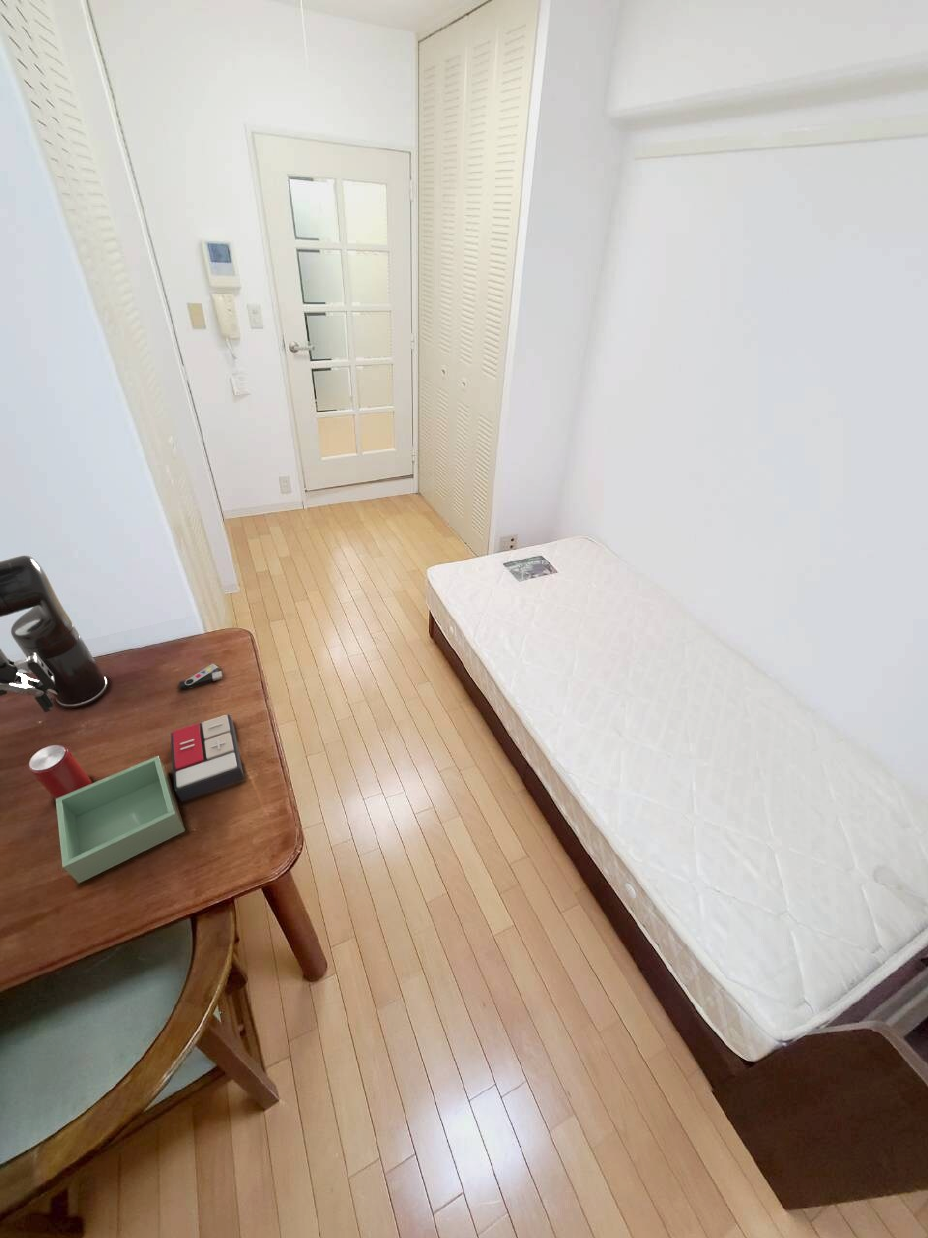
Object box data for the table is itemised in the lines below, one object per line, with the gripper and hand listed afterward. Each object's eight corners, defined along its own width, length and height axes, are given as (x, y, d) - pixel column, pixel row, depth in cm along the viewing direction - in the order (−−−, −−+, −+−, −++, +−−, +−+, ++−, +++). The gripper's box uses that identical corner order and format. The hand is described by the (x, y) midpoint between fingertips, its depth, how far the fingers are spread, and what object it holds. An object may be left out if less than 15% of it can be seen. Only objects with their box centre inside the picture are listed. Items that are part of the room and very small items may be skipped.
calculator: (229, 711, 103) (239, 766, 92) (234, 725, 106) (244, 780, 95) (169, 729, 99) (172, 789, 88) (176, 743, 102) (180, 803, 91)
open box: (71, 817, 88) (55, 799, 84) (169, 774, 96) (158, 755, 92) (80, 885, 80) (62, 867, 76) (186, 832, 87) (174, 814, 83)
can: (55, 787, 92) (26, 753, 86) (91, 773, 95) (65, 738, 88) (58, 811, 89) (27, 777, 82) (94, 795, 92) (68, 761, 85)
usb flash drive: (181, 691, 111) (179, 688, 111) (179, 675, 115) (178, 672, 114) (222, 679, 114) (221, 676, 114) (220, 664, 118) (219, 661, 117)
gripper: (16, 611, 74) (66, 686, 85) (-114, 646, 68) (-43, 723, 78) (18, 641, 70) (71, 716, 80) (-122, 681, 63) (-45, 758, 74)
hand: (15, 719), depth 79 cm, fingers open, 8 cm apart
